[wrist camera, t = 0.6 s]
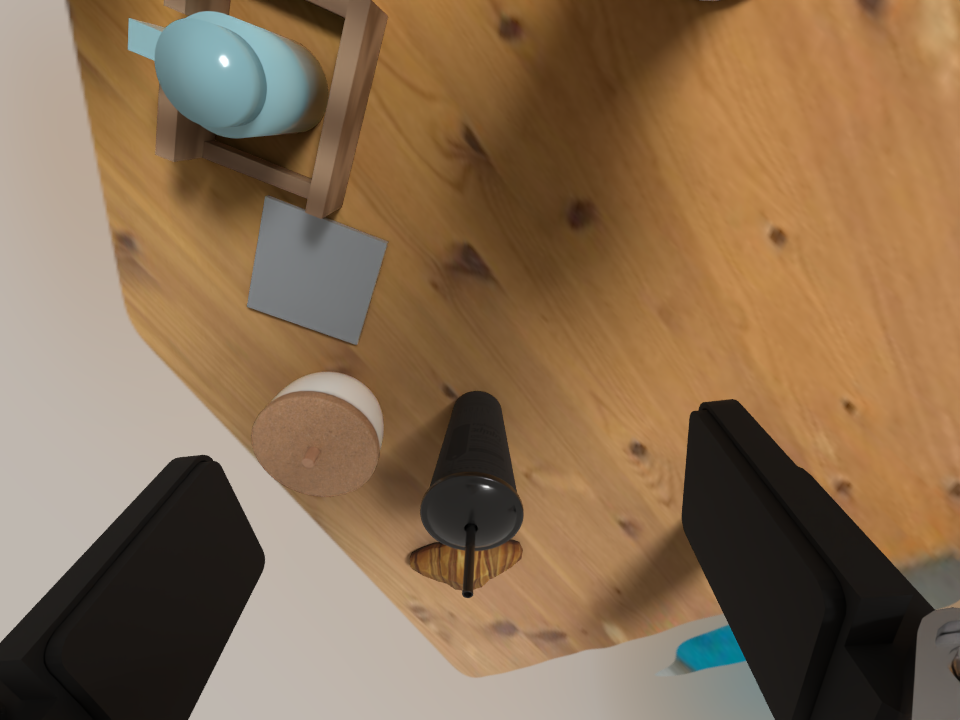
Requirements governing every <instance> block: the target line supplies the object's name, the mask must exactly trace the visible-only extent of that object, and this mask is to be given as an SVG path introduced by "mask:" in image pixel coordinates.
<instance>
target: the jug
mask: <svg viewBox="0 0 960 720" xmlns="http://www.w3.org/2000/svg"><path fill="white" fill-rule="evenodd" d="M128 50H130V51H132V52H135V53H137V54H140V55H142V56H144V57H147V58H149V59H152V60H154V61H155V69H156V73H157V77H158V80H159V83H160V85H161V87H162V90H163V91H164V93H165V95H166V97H167V98H168V99H169V101H170V102H171V104H172V105H173V106H174V107H175V108H176V109H177V110H178V111H179V112H180V113H181V114H182V115H184V116H185V117H186V118H188V119H189V120H191V121H193V122H195V123H197V124H199V125H201V126H202V127H204V128H206V129H207V130H209V131H211V132H213V133H215V134H217V135H220V136H223V137H228V138H247V137H259V136H271V135H282V134H294V133H302V132H306V131H308V130H310V129H312V128H313V127H315V126H316V125H317V124H318V123H319V122H320V120H321V119H322V117H323V116H324V114H325V111H326V108H327V104H328V84H327V80H326V77H325V74H324V71H323V69H322V67H321V65H320V63H319V62H318V60H317V59H316V58H315V56H314V55H313V54H312V53H311V52H310V51H309V50H308V49H307V48H306V47H304V46H303V45H301V44H300V43H298V42H296V41H294V40H291V39H289V38H286V37H284V36H281V35H278V34H276V33H273V32H271V31H268V30H265V29H263V28H260V27H258V26H255V25H252V24H250V23H247V22H244V21H242V20H239V19H237V18H234V17H231V16H229V15H226V14H223V13H219V12H214V11H204V12H198V13H195V14H192V15H190V16H188V17H186V18H184V19H180V20H176V21H174V22H172V23H171V24H169V25H168V26H167V27H166V28H165V27H161V26H157V25H154V24H150V23H146V22H143V21H139V20H135V19H132V18H129V28H128Z"/></svg>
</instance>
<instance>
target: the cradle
mask: <svg viewBox="0 0 960 720" xmlns="http://www.w3.org/2000/svg"><path fill="white" fill-rule="evenodd" d="M305 1H307V2H310V3H312V4H314V5H316V6H318V7H321V8H323V9H325V10H327V11H329V12H331V13H334V14H336V15H338V16H340V17H342V18H345V22H344V27H343V32H342V37H341V41H340V46H339V51H338V56H337V61H336V65H335V70H334V75H333V80H332V85H331V89H330V94H329V99H328V104H327V109H326V114H325V118H324V123H323V128H322V133H321V138H320V142H319V147H318V152H317V157H316V162H315V166H314V171H313V176H312V179H311V178H308V177H306V176H303V175H301V174H298V173H296V172H293V171H291V170H288V169H286V168H283V167H281V166H278V165H276V164H273V163H271V162H268V161H266V160H263V159H261V158H258V157H256V156H253V155H251V154H248V153H246V152H243V151H241V150H238V149H236V148H233V147H231V146H228V145H226V144H223V143H221V142H218V141H216V140H215V133H213V132H211V131H209V130H207V129H206V128H204V127H202V126H201V125H199V124H197V123H195V122H193V121H191V120H189V119H188V118H186V117H185V116H184V115H182V114H181V113H180V112H179V111H178V110H177V109H176V108H175V107H174V106H173V105H172V104H171V102H170V101H169V99H168V98H167V97H166V95H165V93H164V91H163V90H162V87H161V85H160V83H159V99H158V116H157V134H156V152H155V155H157V156H160V157H163V158H165V159H168V160H170V161H173V162H176V161H183V160H190V159H197V158H204V159H207V160H209V161H212V162H215V163H217V164H220V165H222V166H225V167H227V168H230V169H232V170H235V171H237V172H240V173H243V174H245V175H248V176H250V177H253V178H255V179H258V180H260V181H263V182H266V183H268V184H271V185H273V186H276V187H278V188H281V189H283V190H286V191H288V192H291V193H294V194H296V195H299V196H301V197H304V198H306V199H308V200H307V205H306V210H305V213H307V214H310V215H312V216H315V217H317V218H320V219H323V218H324V217H326V216H328V215H329V214H331V213H333V212H334V211H336V210H337V209H339V208H341V207H342V204H343V200H344V196H345V192H346V188H347V184H348V179H349V175H350V171H351V167H352V163H353V159H354V155H355V151H356V146H357V142H358V138H359V134H360V130H361V126H362V122H363V118H364V114H365V109H366V105H367V101H368V97H369V93H370V89H371V85H372V81H373V77H374V72H375V68H376V64H377V60H378V56H379V52H380V48H381V44H382V40H383V35H384V31H385V27H386V23H387V19H388V16H387V15H386V14H385V13H384V12H383V11H382V10H381V9H380V8H379V7H378V6H377V5H376V4H375V3H374V2H373V1H372V0H305ZM164 6H167V7H169V8H171V9H174V10H176V11H178V12H181V13H183V14H185V15H188V16H190V15H192V14H195V13H198V12H204V11H214V12H219V13H223V14H226V15H229V8H230V0H164Z"/></svg>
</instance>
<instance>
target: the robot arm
mask: <svg viewBox="0 0 960 720" xmlns="http://www.w3.org/2000/svg"><path fill="white" fill-rule="evenodd" d="M701 1H719V0H701ZM682 524H683V528H684V531H685V534H686V537H687V539H688V541H689V543H690V545H691V547H692V549H693V551H694V553H695V555H696V557H697V559H698V561H699V563H700V566H701V568H702V570H703V572H704V574H705V576H706V578H707V580H708V582H709V584H710V586H711V588H712V590H713V592H714V595H715V597H716V599H717V601H718V603H719V605H720V607H721V609H722V611H723V613H724V615H725V617H726V619H727V621H728V624H729V626H730V628H731V630H732V632H733V634H734V636H735V638H736V640H737V642H738V644H739V646H740V648H741V650H742V653H743V655H744V657H745V659H746V661H747V663H748V665H749V667H750V669H751V671H752V673H753V675H754V677H755V679H756V681H757V683H758V685H759V688H760V690H761V692H762V694H763V696H764V698H765V700H766V702H767V704H768V706H769V708H770V711H771V713H772V715H773V717H774V718H775V720H960V608H953V607H952V608H946V609H939V610H935V609H934V608H933V607H932V606H931V605H930V604H929V603H928V602H927V601H926V600H925V599H924V597H923V596H922V595H921V594H920V593H919V592H918V591H917V590H916V589H915V588H914V587H913V586H912V584H911V583H910V582H909V581H908V580H907V579H906V578H905V577H904V576H903V575H902V574H901V573H900V571H899V570H898V569H897V568H896V567H895V566H894V565H893V564H892V563H891V562H890V561H889V559H888V558H887V557H886V556H885V555H884V554H883V553H882V552H881V551H880V550H879V549H878V548H877V546H876V545H875V544H874V543H873V542H872V541H871V540H870V539H869V538H868V537H867V536H866V535H865V533H864V532H863V531H862V530H861V529H860V528H859V527H858V526H857V525H856V524H855V523H854V521H853V520H852V519H851V518H850V517H849V516H848V515H847V514H846V513H845V512H844V511H843V510H842V508H841V507H840V506H839V505H838V504H837V503H836V502H835V501H834V500H833V499H832V498H831V497H830V495H829V494H828V493H827V492H826V491H825V490H824V489H823V488H822V487H821V486H820V485H819V483H818V482H817V481H816V480H815V479H814V478H813V477H812V476H811V475H810V474H809V473H808V472H807V471H805V470H804V469H803V468H800V467H798V466H796V464H795V463H794V462H793V461H792V460H791V459H790V458H789V457H788V456H787V455H786V453H785V452H784V451H783V450H782V449H781V448H780V447H779V446H778V445H777V443H776V442H775V441H774V440H773V439H772V438H771V437H770V436H769V435H768V434H767V432H766V431H765V430H764V429H763V428H762V427H761V426H760V425H759V424H758V422H757V421H756V420H755V419H754V418H753V417H752V416H751V415H750V414H749V413H748V411H747V410H746V409H745V408H744V407H743V406H742V405H741V404H740V403H739V402H738V401H737V400H734V399H731V400H721V401H712V402H703V403H702V404H701V405H700V407H699V411H693V412H691V414H690V419H689V432H688V444H687V456H686V469H685V481H684V493H683V506H682ZM264 564H265V556H264V552H263V550H262V548H261V546H260V544H259V542H258V540H257V538H256V536H255V533H254V531H253V529H252V527H251V525H250V523H249V521H248V519H247V517H246V515H245V513H244V511H243V509H242V507H241V505H240V503H239V501H238V499H237V497H236V495H235V493H234V491H233V489H232V487H231V485H230V483H229V481H228V479H227V477H226V475H225V473H224V471H223V469H222V467H221V465H220V464H219V463H218V462H215V461H213V459H212V458H210V457H209V456H207V455H198V456H188V457H180V458H175V459H174V460H172V461H171V462H169V464H168V465H167V466H166V467H165V468H164V469H163V470H162V471H161V472H160V473H159V474H158V475H157V477H155V478H154V480H153V481H152V482H151V483H150V484H149V485H148V486H147V487H146V488H145V489H144V490H143V491H142V492H141V493H140V494H139V496H138V497H137V498H136V499H135V500H134V501H133V502H132V503H131V504H130V505H129V506H128V507H127V508H126V509H125V510H124V512H123V513H122V514H121V515H120V516H119V517H118V518H117V519H116V520H115V521H114V522H113V523H112V524H111V525H110V526H109V527H108V529H107V530H106V531H105V532H104V533H103V534H102V535H101V536H100V537H99V538H98V539H97V540H96V541H95V542H94V543H93V544H92V546H91V547H90V548H89V549H88V550H87V551H86V552H85V553H84V554H83V555H82V556H81V557H80V558H79V559H78V560H77V562H76V563H75V564H74V565H73V566H72V567H71V568H70V569H69V570H68V571H67V572H66V573H65V574H64V575H63V576H62V578H61V579H60V580H59V581H58V582H57V583H56V584H55V585H54V586H53V587H52V588H51V589H50V590H49V592H48V593H47V594H46V595H45V596H44V597H43V598H42V599H41V600H40V601H39V602H38V603H37V604H36V605H35V606H34V607H33V608H32V610H31V611H30V612H29V613H28V614H27V615H26V616H25V617H24V618H23V619H22V620H21V621H20V622H19V623H18V624H17V626H16V627H15V628H14V629H13V630H12V631H11V632H10V633H9V634H8V635H7V636H6V637H5V638H4V639H3V640H2V641H1V643H0V720H188V719H189V717H190V715H191V713H192V711H193V709H194V707H195V705H196V703H197V701H198V699H199V697H200V695H201V693H202V691H203V689H204V686H205V685H206V683H207V681H208V679H209V677H210V675H211V673H212V671H213V669H214V667H215V665H216V663H217V661H218V659H219V657H220V655H221V653H222V651H223V649H224V647H225V645H226V643H227V641H228V639H229V637H230V635H231V633H232V631H233V629H234V627H235V625H236V623H237V621H238V619H239V617H240V615H241V613H242V611H243V609H244V607H245V605H246V603H247V601H248V599H249V597H250V595H251V593H252V591H253V589H254V588H255V585H256V584H257V582H258V580H259V578H260V576H261V573H262V571H263V569H264Z"/></svg>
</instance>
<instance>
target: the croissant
mask: <svg viewBox="0 0 960 720" xmlns="http://www.w3.org/2000/svg"><path fill="white" fill-rule="evenodd" d="M522 551H523V549H522V547H521V545H520V543H519V542H518V541H514V540H509V541H508V542H506V543H504V544H502V545H500V546H498V547H496V548H493V549H489V550H484V551H475V560H474V585H473V590H474V589H477V588H480V587H482V586H483V585H484V584H485V583H486V582H487V581H488V580H489V579H492V578H494V577H496V576H498V575H499V574H501V573H503V572H504V571H506V570H507V569H509V568H511V567H512V566H513V565H514V564H516V563H517V562H518V561H519V560H520V559H521V557H522ZM464 558H465V551H464V550H458V549H454V548H451V547H449V546H446V545H444V544H442V543H434V544H431V545H428V546H425V547H422V548H420V549H418V550H416V551H414V552H413V553H412V554H411V556H410V565H411V567H412V569H413V570H415V571H417V572H418V573H420V574H422V575H423V576H426V577H428V578H431V579H434V580H436V581H439V582H443V583H447V584H448V585H450V586H451V587H453V588H454V589H457V590H462V589H463V574H464Z"/></svg>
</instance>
